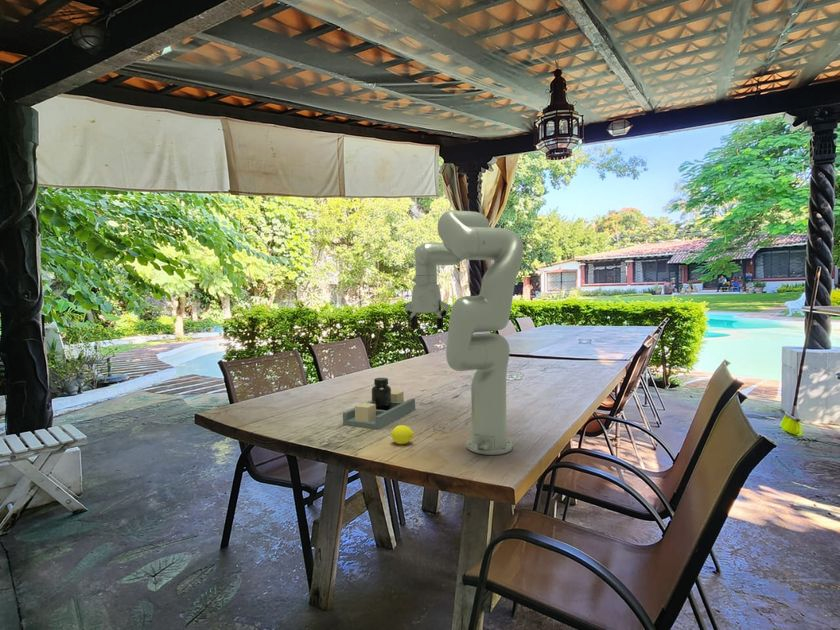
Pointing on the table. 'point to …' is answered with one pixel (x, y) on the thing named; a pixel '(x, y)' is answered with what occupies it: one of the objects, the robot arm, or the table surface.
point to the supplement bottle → (381, 394)
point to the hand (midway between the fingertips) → (427, 329)
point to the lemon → (402, 434)
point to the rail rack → (378, 412)
